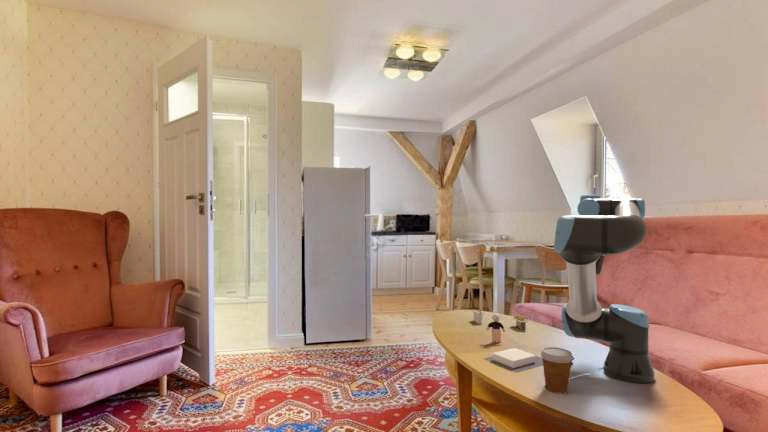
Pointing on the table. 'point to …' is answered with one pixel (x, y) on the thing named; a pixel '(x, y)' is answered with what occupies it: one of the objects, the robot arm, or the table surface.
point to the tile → (514, 357)
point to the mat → (518, 369)
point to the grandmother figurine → (496, 328)
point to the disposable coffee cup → (556, 368)
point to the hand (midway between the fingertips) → (589, 291)
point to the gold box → (520, 321)
